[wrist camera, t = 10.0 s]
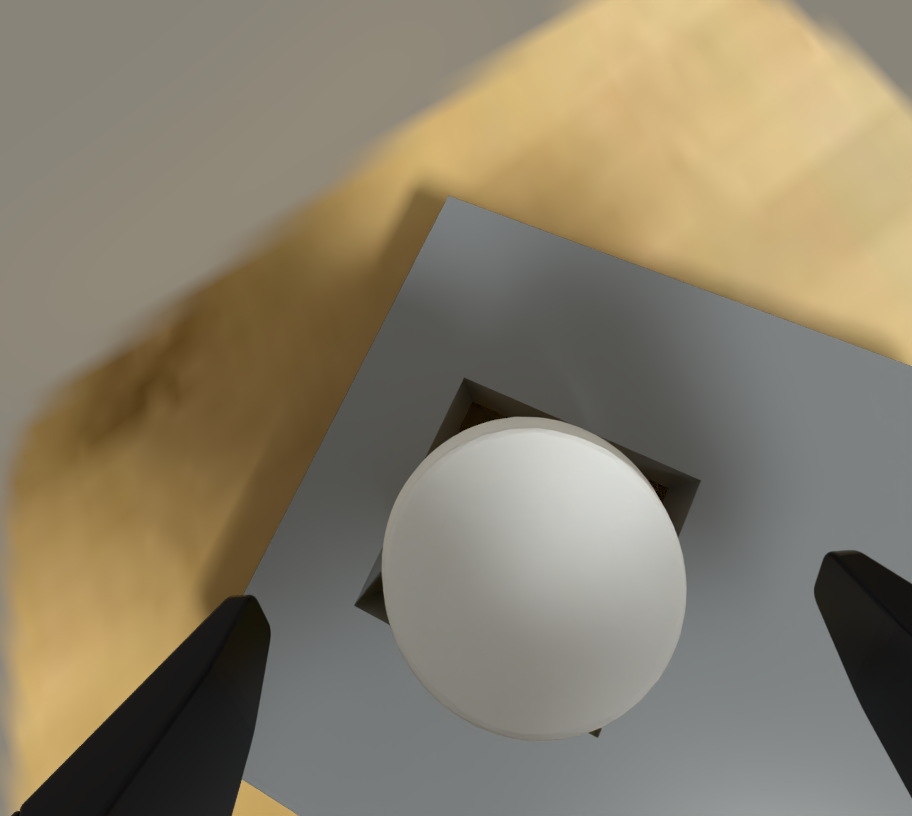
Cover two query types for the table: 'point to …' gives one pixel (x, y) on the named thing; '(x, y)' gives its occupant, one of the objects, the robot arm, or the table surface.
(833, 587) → the robot arm
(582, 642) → the supplement bottle
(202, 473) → the table surface
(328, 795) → the holder
